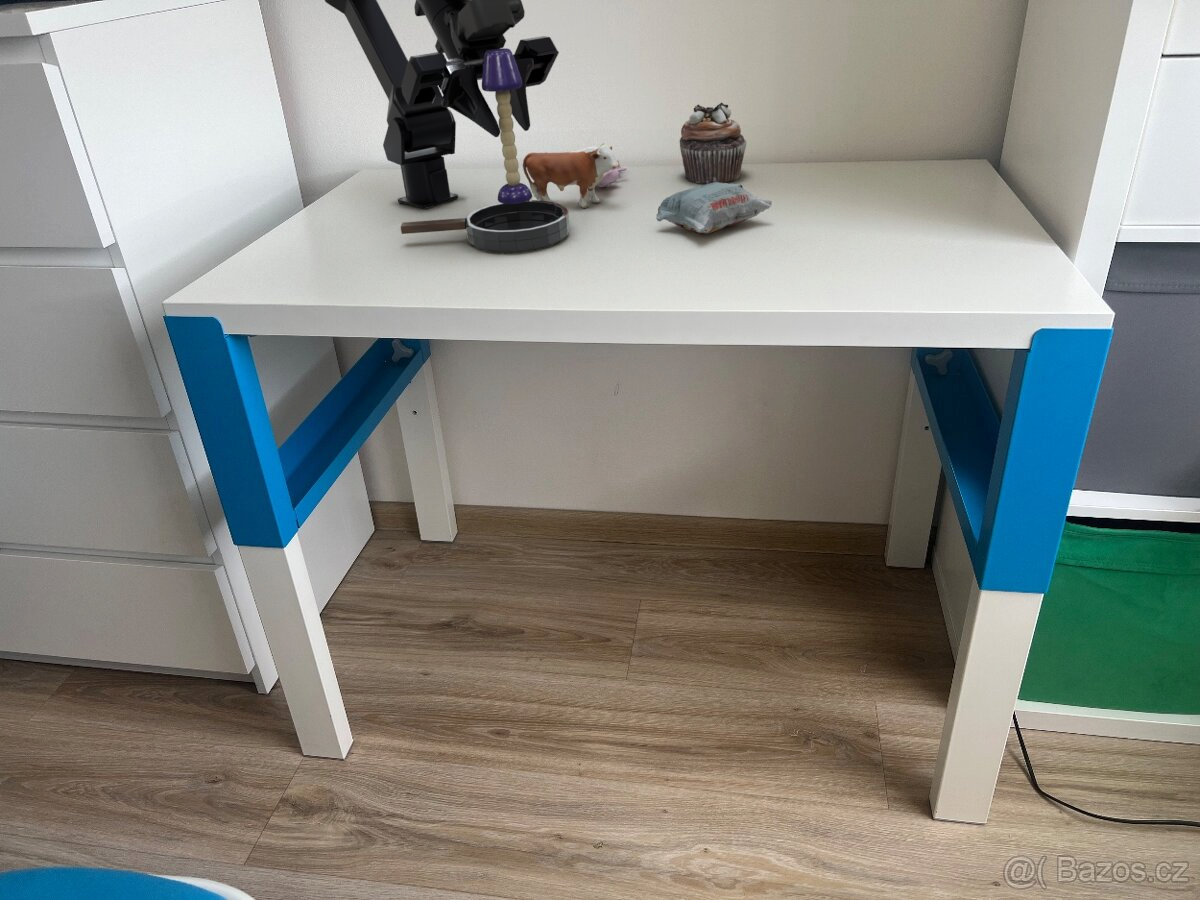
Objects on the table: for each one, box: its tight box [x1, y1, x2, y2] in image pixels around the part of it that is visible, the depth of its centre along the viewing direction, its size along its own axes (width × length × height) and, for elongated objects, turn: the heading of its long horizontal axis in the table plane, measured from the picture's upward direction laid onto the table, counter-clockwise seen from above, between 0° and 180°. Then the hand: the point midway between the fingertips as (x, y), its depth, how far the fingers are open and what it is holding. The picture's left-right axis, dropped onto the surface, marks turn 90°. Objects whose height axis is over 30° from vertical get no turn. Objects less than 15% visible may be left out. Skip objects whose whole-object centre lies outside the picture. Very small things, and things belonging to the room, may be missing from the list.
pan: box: [464, 199, 571, 254], centre depth 109 cm, size 13×13×3 cm
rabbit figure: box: [597, 142, 627, 189], centre depth 127 cm, size 6×6×15 cm
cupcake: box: [679, 102, 748, 185], centre depth 126 cm, size 10×10×10 cm
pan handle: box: [400, 217, 466, 235], centre depth 109 cm, size 8×2×1 cm, turn 93°
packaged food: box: [655, 182, 773, 234], centre depth 108 cm, size 9×12×5 cm
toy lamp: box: [481, 47, 533, 204], centre depth 102 cm, size 5×5×17 cm
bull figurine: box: [522, 144, 620, 209], centre depth 118 cm, size 4×13×8 cm, turn 76°
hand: (513, 131), depth 101 cm, fingers closed on toy lamp, 4 cm apart
